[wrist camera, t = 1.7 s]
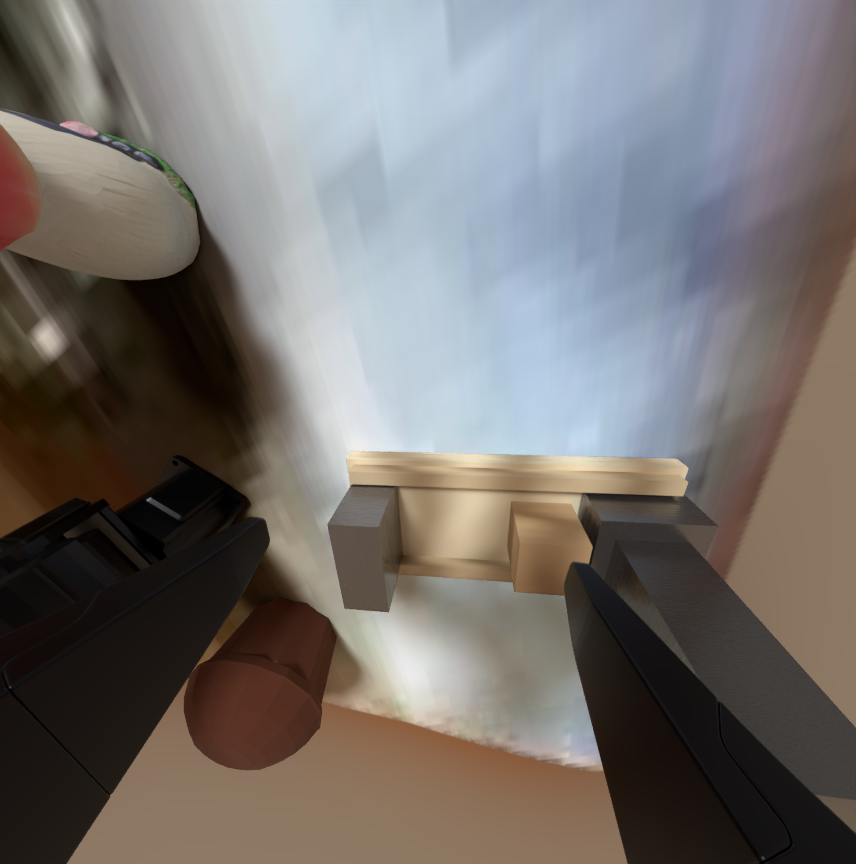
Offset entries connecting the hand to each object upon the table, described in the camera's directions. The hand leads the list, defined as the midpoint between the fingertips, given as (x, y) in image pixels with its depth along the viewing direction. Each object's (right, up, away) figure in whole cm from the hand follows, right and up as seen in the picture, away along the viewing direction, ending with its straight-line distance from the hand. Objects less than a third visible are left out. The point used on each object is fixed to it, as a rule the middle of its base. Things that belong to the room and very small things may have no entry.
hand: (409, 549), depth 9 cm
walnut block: (+8, -3, +13) cm, 16 cm away
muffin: (-13, -17, +24) cm, 32 cm away
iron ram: (+14, -3, +12) cm, 19 cm away
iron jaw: (-3, -3, +15) cm, 15 cm away
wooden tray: (+6, -3, +15) cm, 16 cm away
